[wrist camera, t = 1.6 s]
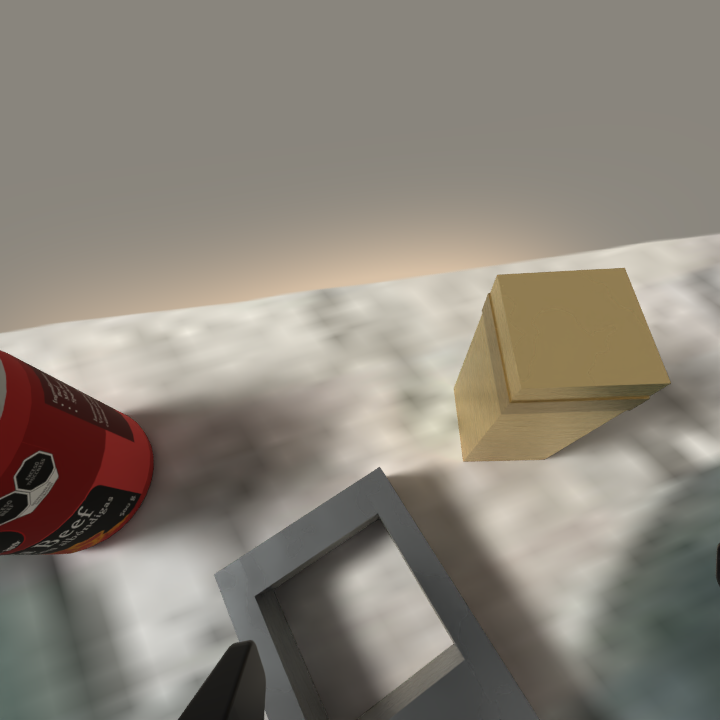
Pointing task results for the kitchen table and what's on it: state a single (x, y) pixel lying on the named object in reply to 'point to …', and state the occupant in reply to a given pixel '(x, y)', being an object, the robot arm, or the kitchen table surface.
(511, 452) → the tan tall block
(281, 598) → the kitchen table surface
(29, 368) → the canned food
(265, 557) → the grey cinder block
